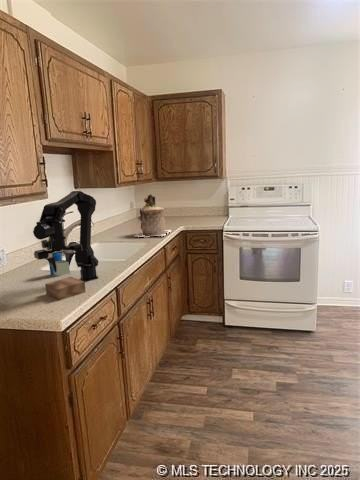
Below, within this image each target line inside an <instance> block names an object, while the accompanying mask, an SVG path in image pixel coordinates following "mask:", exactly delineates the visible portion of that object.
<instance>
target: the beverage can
mask: <svg viewBox="0 0 360 480" xmlns="http://www.w3.org/2000/svg"><path fill="white" fill-rule="evenodd" d="M55 252H56V251H55ZM52 256H53V257H54V258H55V262H57V261H61V260H63V256H62V253H57V254H52ZM48 266H49V272H50V275H51V276H52V277H58V276H57V275H55V274H54V271H53V268H52V267H51V265H50V263H49V262H48Z"/></svg>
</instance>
